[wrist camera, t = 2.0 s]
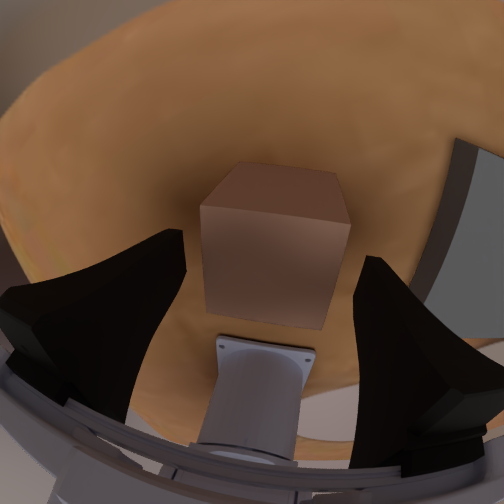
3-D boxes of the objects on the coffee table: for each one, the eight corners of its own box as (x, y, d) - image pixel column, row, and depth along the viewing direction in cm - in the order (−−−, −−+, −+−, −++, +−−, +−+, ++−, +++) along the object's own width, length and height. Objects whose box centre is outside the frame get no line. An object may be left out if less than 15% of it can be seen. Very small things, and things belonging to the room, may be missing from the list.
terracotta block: (320, 254, 16) (321, 330, 11) (237, 242, 17) (206, 312, 12) (335, 173, 13) (351, 224, 8) (239, 161, 14) (199, 205, 9)
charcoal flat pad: (503, 313, 16) (515, 337, 14) (397, 304, 18) (405, 335, 15) (558, 188, 10) (580, 206, 7) (451, 136, 11) (479, 147, 9)
